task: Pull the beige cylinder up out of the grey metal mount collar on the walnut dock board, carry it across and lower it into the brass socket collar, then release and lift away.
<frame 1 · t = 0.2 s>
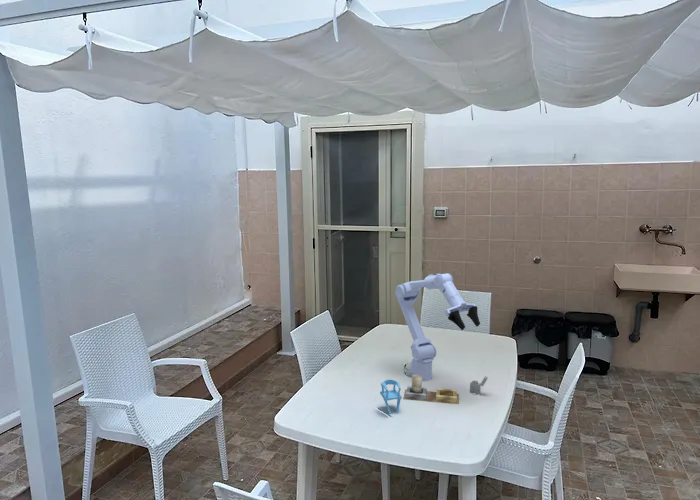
hand: (471, 326, 196), 31 cm above the table, tool tilted 45°, fingers open, 7 cm apart
beige cylinder: (416, 395, 205), point 1 cm above the table, touching dock
dock: (431, 398, 204), on the table
chair: (390, 412, 192), on the table
lighter: (478, 394, 209), on the table
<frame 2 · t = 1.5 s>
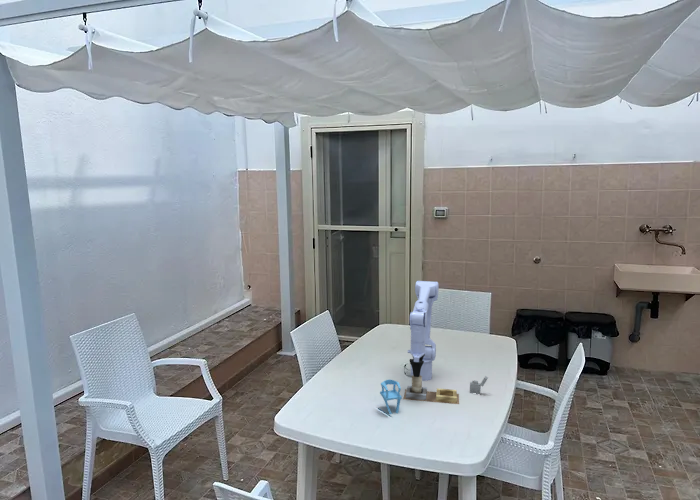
hand: (417, 373, 203), 10 cm above the table, tool pointing down, fingers open, 7 cm apart
nothing on the table moved.
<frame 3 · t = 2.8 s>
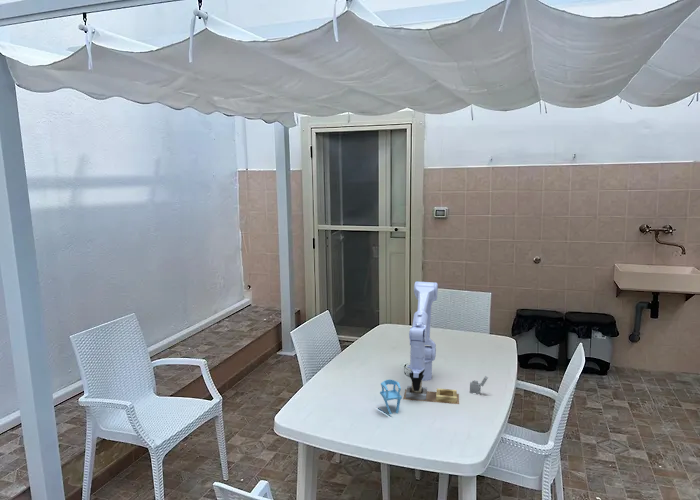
hand: (416, 388, 204), 4 cm above the table, tool pointing down, fingers closed on beige cylinder, 4 cm apart
beige cylinder: (416, 395, 205), point 1 cm above the table, touching dock, gripper
everything else where it was.
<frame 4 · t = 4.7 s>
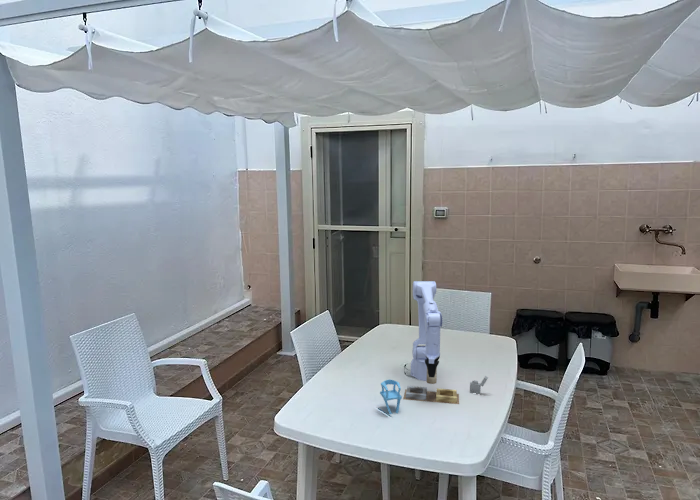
hand: (431, 374, 202), 10 cm above the table, tool pointing down, fingers closed on beige cylinder, 4 cm apart
beige cylinder: (431, 382, 203), point 7 cm above the table, touching gripper
everything else where it was.
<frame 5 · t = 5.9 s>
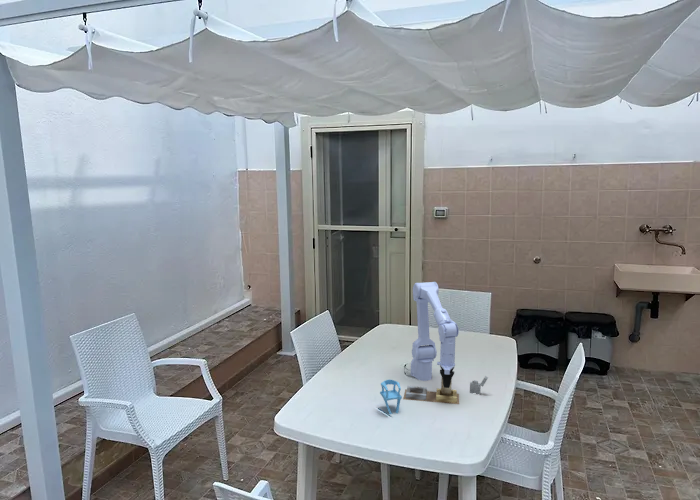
hand: (446, 385, 202), 6 cm above the table, tool pointing down, fingers closed on beige cylinder, 4 cm apart
beige cylinder: (446, 392, 202), point 3 cm above the table, touching gripper
everything else where it was.
when the fingers open (5 cm above the table, at t = 6.6 s): beige cylinder stays where it is, resting on dock.
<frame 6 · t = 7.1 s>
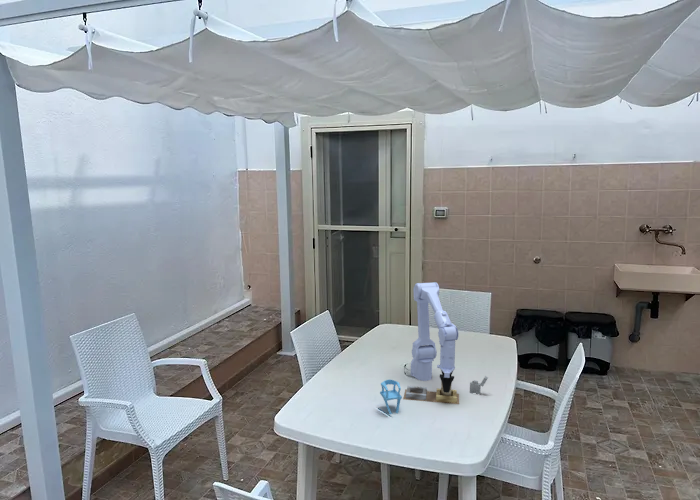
hand: (446, 388, 202), 5 cm above the table, tool pointing down, fingers open, 7 cm apart
beige cylinder: (446, 397, 202), point 1 cm above the table, touching dock
everything else where it was.
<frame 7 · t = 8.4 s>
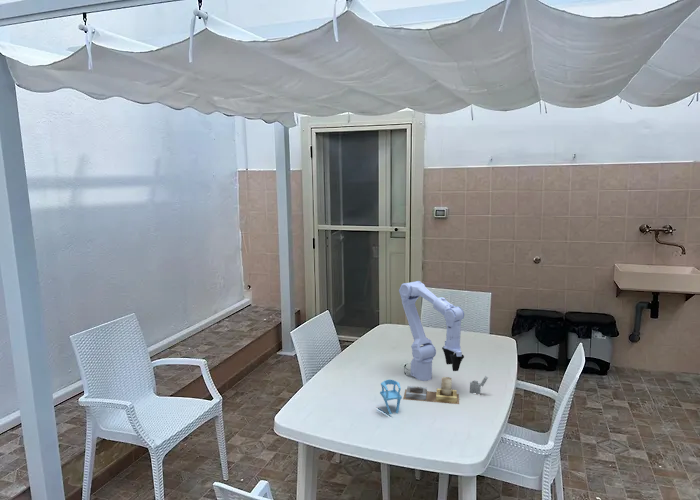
hand: (452, 367, 210), 10 cm above the table, tool pointing down, fingers open, 7 cm apart
nothing on the table moved.
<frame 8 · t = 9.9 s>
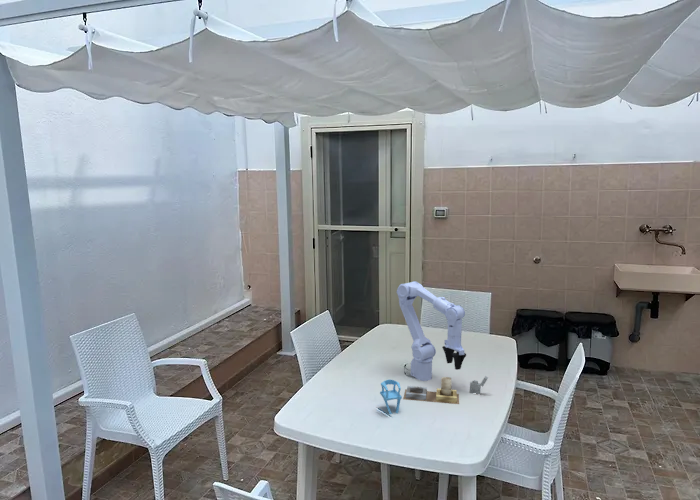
hand: (453, 366, 211), 10 cm above the table, tool pointing down, fingers open, 7 cm apart
nothing on the table moved.
at the end: beige cylinder 0.2 cm from the target spot on the dock, point 1.0 cm above the dock's base; beige cylinder tilted 1°; the gripper is holding nothing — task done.
